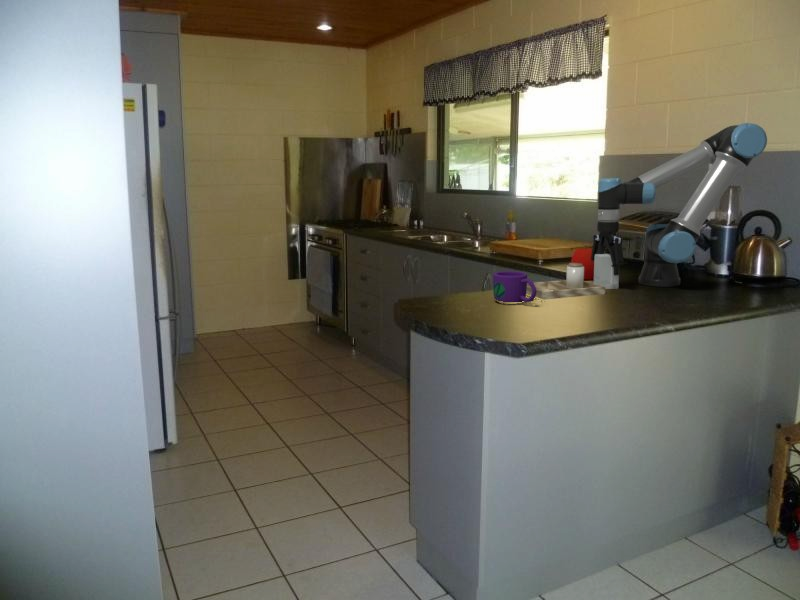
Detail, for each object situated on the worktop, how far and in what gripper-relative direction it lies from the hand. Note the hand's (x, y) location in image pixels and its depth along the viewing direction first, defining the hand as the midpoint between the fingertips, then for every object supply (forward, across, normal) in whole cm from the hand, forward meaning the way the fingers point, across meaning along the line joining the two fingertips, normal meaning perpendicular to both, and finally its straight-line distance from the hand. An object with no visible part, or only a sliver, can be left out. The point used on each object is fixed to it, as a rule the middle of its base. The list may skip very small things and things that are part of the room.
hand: (605, 281), depth 240 cm
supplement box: (+3, 0, 0) cm, 3 cm away
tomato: (+3, -19, +5) cm, 20 cm away
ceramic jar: (+2, +2, -15) cm, 16 cm away
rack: (+3, +2, -21) cm, 22 cm away
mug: (+3, +9, -43) cm, 44 cm away
